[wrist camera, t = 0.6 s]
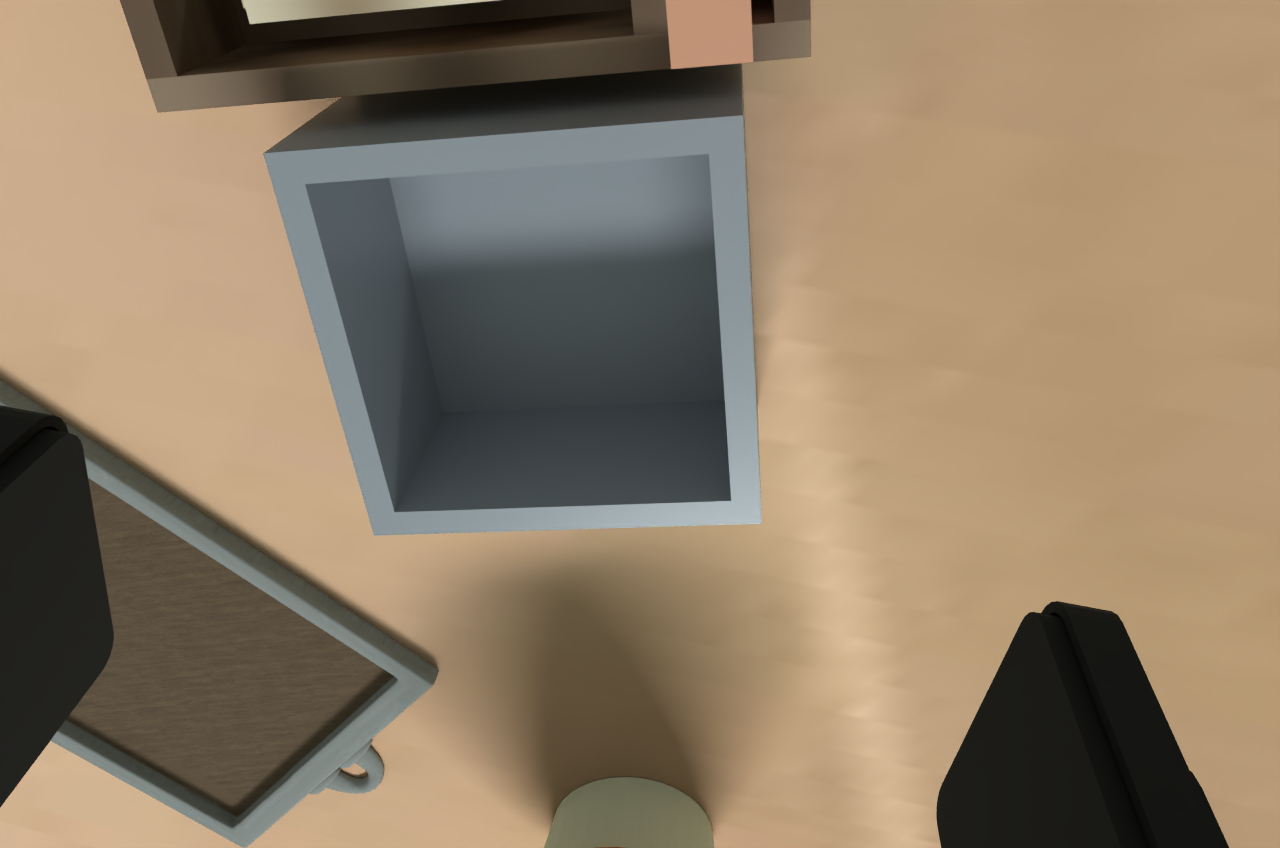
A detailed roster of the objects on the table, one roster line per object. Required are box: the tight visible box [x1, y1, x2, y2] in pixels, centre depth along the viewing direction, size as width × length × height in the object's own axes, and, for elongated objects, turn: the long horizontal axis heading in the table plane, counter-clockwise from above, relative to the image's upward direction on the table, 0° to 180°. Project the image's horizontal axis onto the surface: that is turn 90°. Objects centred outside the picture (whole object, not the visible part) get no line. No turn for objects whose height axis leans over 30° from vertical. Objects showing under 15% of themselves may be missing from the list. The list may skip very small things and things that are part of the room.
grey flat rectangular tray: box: [0, 380, 439, 848], centre depth 52 cm, size 19×2×30 cm
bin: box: [263, 63, 762, 535], centre depth 36 cm, size 14×14×8 cm
